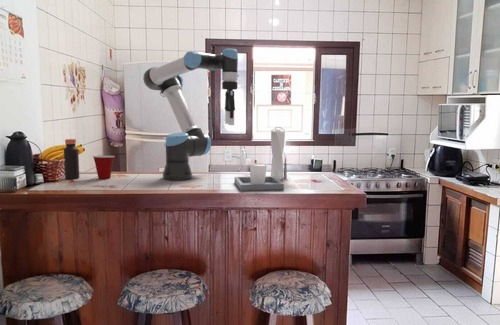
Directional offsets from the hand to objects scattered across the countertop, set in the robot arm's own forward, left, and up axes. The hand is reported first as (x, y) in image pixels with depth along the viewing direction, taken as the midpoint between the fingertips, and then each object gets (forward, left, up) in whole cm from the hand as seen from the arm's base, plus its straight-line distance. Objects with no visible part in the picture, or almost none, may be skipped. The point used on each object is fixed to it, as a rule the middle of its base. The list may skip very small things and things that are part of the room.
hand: (229, 124), depth 206 cm
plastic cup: (-13, -63, -29) cm, 71 cm away
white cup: (+16, +12, -28) cm, 34 cm away
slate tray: (+16, +12, -29) cm, 35 cm away
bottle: (-14, -79, -29) cm, 85 cm away
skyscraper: (-2, +26, -29) cm, 39 cm away
